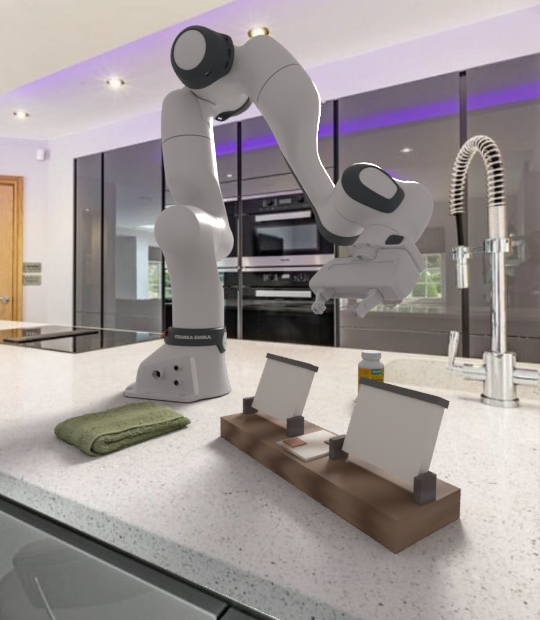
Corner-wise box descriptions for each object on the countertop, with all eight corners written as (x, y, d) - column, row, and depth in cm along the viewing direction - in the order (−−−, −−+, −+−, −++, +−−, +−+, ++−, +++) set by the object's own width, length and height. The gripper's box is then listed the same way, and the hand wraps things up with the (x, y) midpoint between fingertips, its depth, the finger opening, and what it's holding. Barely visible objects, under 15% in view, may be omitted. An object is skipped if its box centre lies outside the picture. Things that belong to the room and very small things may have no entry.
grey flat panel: (339, 448, 47) (360, 376, 49) (350, 451, 48) (370, 380, 50) (415, 485, 39) (439, 396, 40) (427, 488, 40) (449, 401, 41)
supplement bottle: (369, 392, 89) (370, 348, 89) (389, 397, 85) (390, 352, 84) (352, 395, 86) (352, 350, 86) (371, 401, 82) (372, 354, 81)
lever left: (249, 405, 64) (267, 352, 65) (259, 408, 65) (276, 356, 66) (289, 425, 55) (308, 363, 57) (300, 427, 56) (318, 367, 58)
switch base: (220, 435, 63) (220, 401, 62) (273, 423, 68) (273, 392, 68) (395, 553, 35) (397, 493, 35) (459, 517, 41) (461, 465, 41)
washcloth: (195, 428, 67) (195, 409, 67) (91, 463, 54) (91, 439, 53) (149, 412, 76) (148, 395, 75) (49, 439, 62) (48, 418, 62)
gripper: (326, 246, 78) (285, 297, 73) (419, 235, 61) (373, 302, 56) (343, 270, 81) (304, 321, 76) (435, 266, 64) (393, 332, 59)
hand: (334, 313), depth 66 cm, fingers open, 8 cm apart
